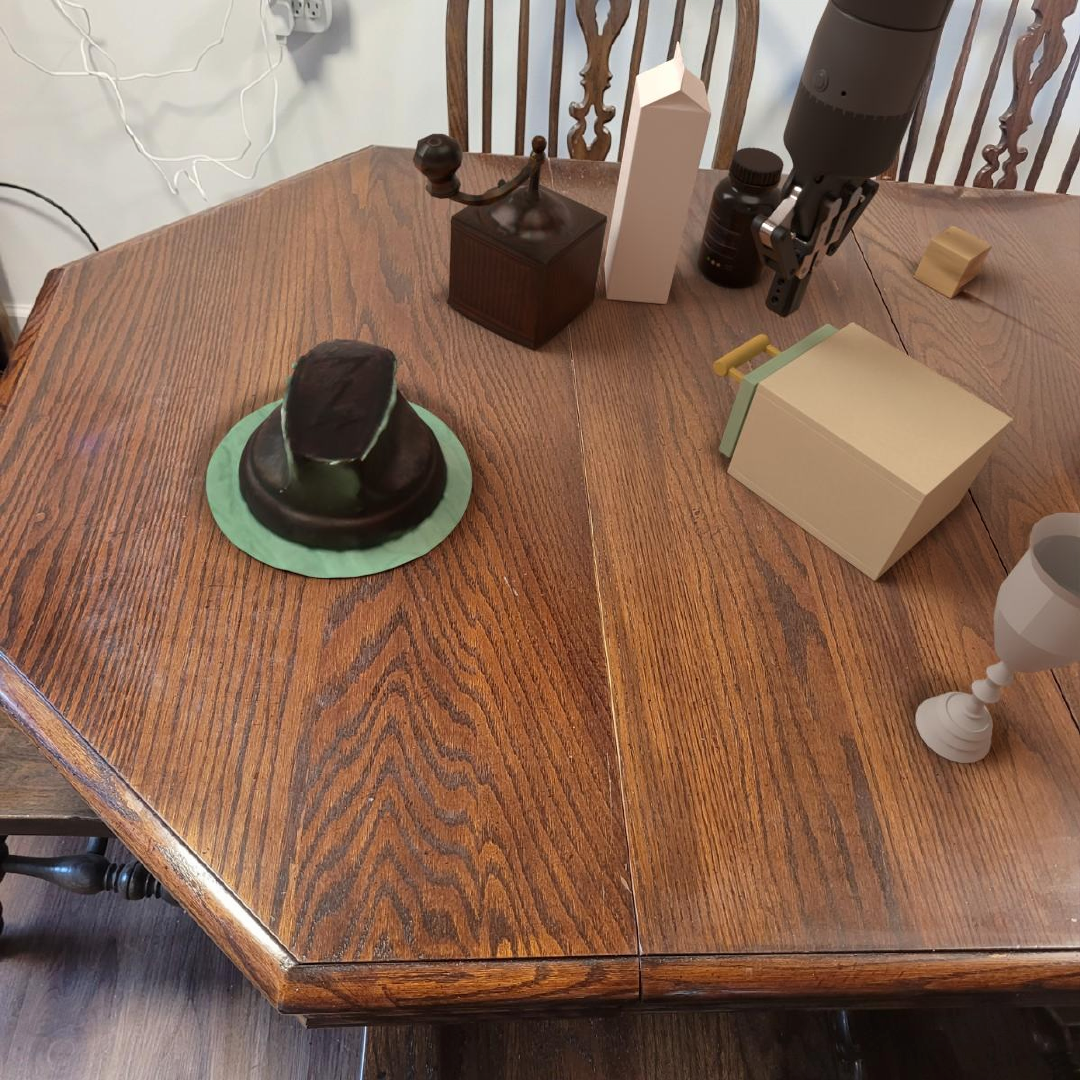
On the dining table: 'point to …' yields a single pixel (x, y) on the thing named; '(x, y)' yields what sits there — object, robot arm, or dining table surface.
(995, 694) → the chalice
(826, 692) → the dining table surface
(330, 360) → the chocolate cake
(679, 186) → the milk
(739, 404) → the drawer
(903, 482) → the cabinet
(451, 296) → the brown coffee grinder
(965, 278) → the block
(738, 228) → the supplement bottle
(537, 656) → the dining table surface
